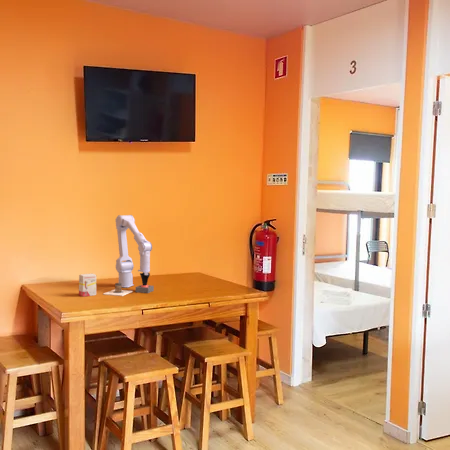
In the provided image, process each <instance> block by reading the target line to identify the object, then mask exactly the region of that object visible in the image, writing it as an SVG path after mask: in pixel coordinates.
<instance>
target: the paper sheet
mask: <svg viewBox="0 0 450 450" xmlns="http://www.w3.org/2000/svg"><path fill="white" fill-rule="evenodd" d="M133 292H134V290H127V289H121V292H120V293H116V292H115V288H114V289H112V290H110V291H109V290H108V291H106V292H103V294H102V295H105V296H115V297H124V296H126V295H128V294H130V293H133Z"/></svg>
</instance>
